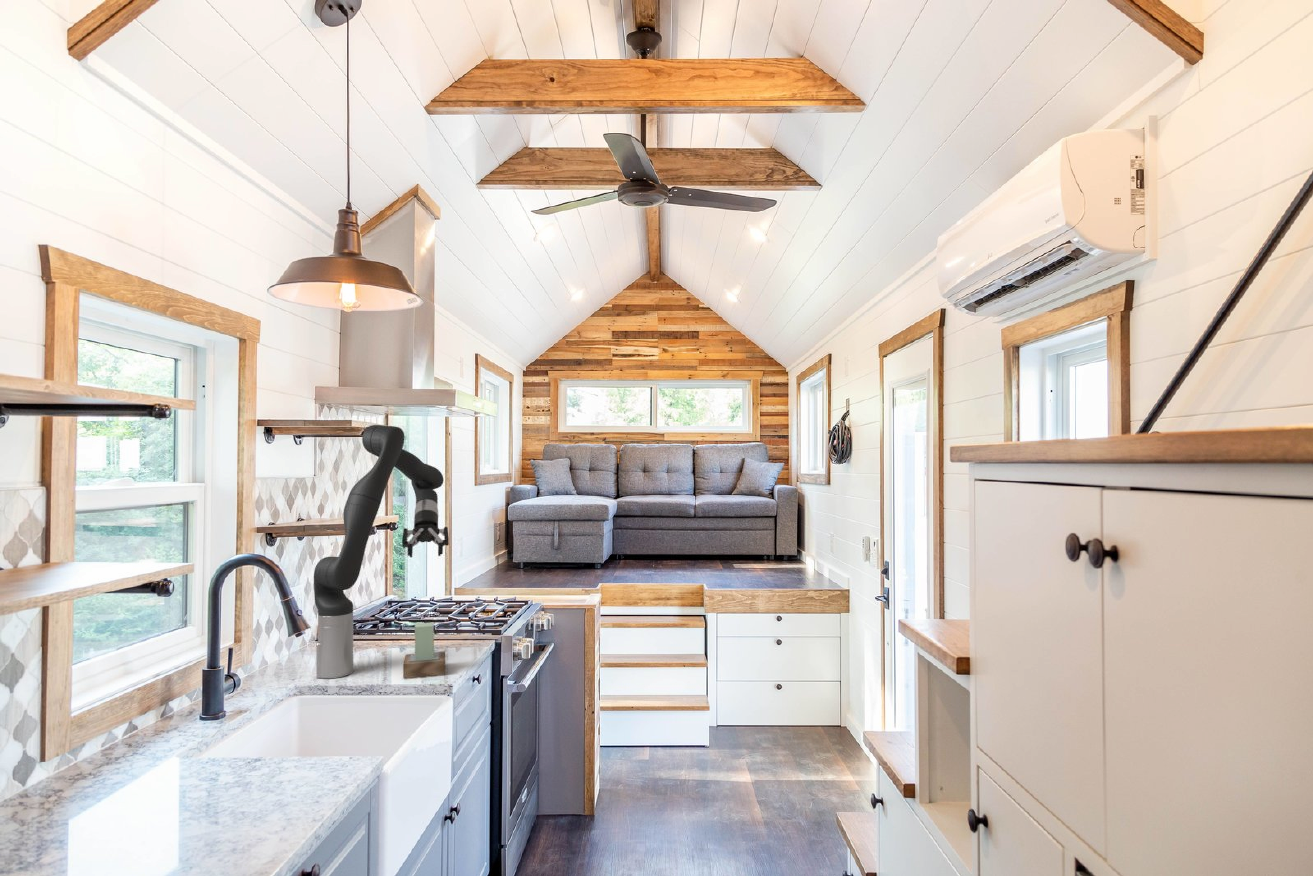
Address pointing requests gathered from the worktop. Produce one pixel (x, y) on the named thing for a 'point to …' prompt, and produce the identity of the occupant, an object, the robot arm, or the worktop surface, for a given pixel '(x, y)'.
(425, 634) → the sage block
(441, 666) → the block
